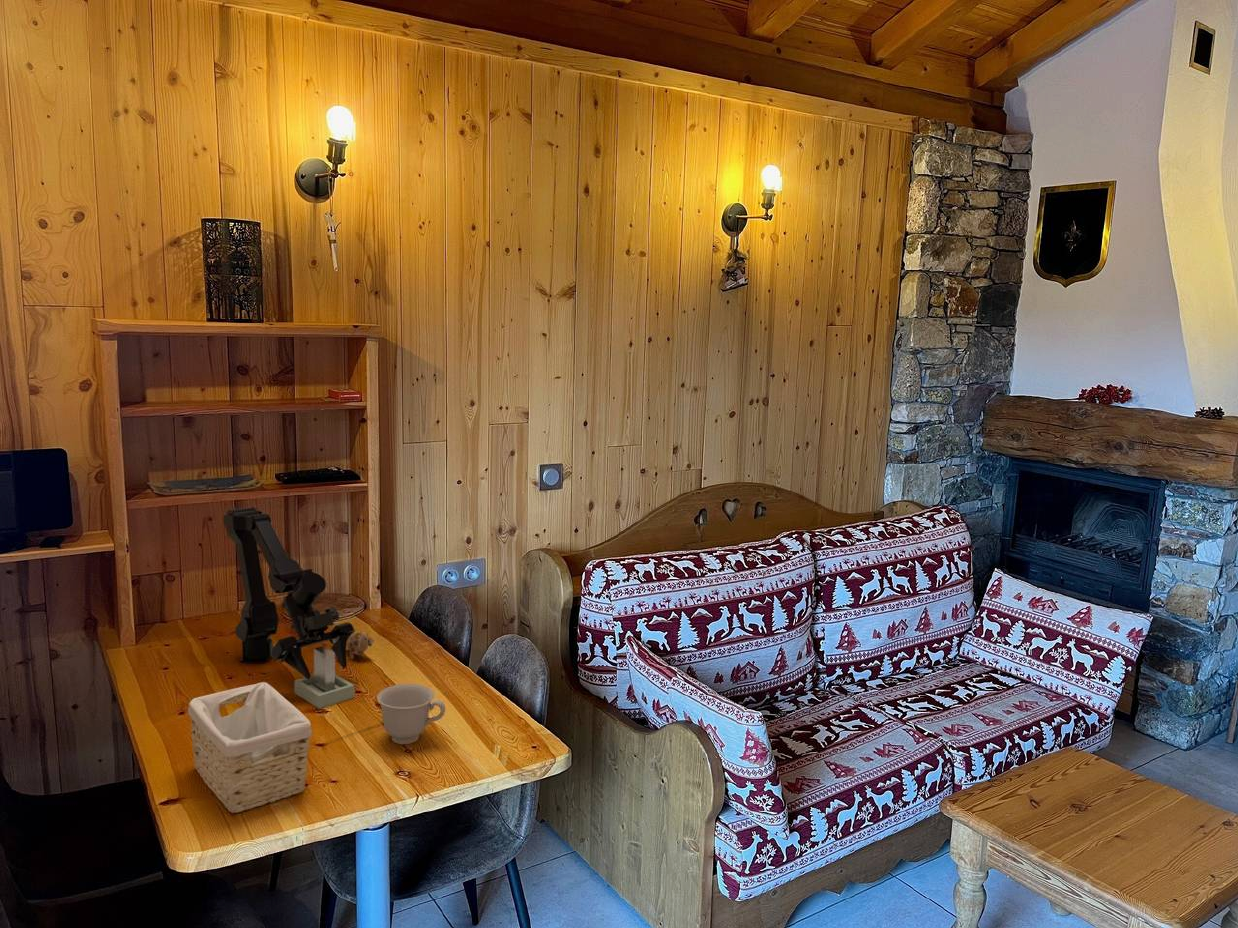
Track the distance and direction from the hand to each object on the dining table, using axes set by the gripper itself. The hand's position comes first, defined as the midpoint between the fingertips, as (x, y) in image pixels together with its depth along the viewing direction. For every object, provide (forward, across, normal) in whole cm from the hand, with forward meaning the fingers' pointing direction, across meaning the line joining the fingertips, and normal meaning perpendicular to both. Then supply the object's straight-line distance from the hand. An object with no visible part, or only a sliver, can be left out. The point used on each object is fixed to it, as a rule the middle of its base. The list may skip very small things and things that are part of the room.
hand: (327, 672), depth 210 cm
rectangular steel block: (+3, 0, +5) cm, 6 cm away
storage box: (+4, 0, +6) cm, 7 cm away
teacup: (+25, +4, -14) cm, 28 cm away
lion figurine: (-8, +18, +18) cm, 27 cm away
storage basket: (+20, -29, -9) cm, 36 cm away
